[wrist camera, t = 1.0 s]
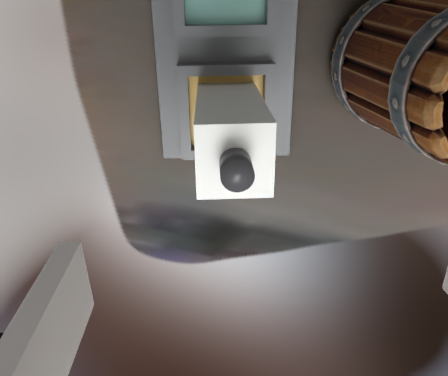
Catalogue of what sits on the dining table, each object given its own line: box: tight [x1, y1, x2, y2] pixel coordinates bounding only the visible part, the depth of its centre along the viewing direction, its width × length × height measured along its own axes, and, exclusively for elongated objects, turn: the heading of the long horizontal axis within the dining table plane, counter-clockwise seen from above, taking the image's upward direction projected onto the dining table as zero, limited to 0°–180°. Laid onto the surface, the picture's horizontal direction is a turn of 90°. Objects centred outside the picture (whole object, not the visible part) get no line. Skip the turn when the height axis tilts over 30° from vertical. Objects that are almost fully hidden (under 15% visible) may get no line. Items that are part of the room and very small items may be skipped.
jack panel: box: [151, 0, 298, 160], centre depth 32 cm, size 18×11×2 cm, turn 1°
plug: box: [193, 82, 277, 200], centre depth 28 cm, size 5×4×14 cm
